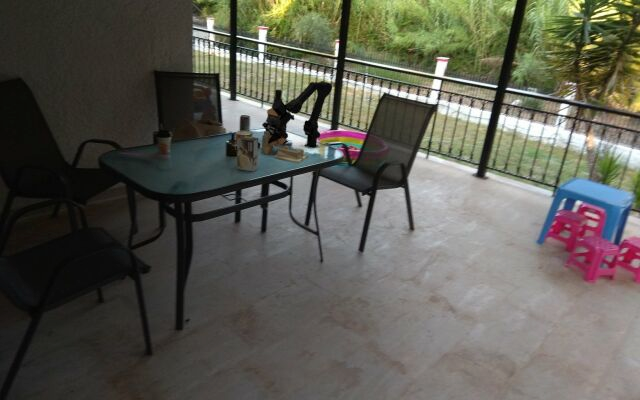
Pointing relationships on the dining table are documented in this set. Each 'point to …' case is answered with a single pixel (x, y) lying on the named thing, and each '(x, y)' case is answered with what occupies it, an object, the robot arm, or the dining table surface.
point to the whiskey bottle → (273, 115)
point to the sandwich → (290, 155)
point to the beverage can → (243, 134)
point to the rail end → (267, 147)
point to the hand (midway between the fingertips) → (265, 141)
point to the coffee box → (247, 153)
